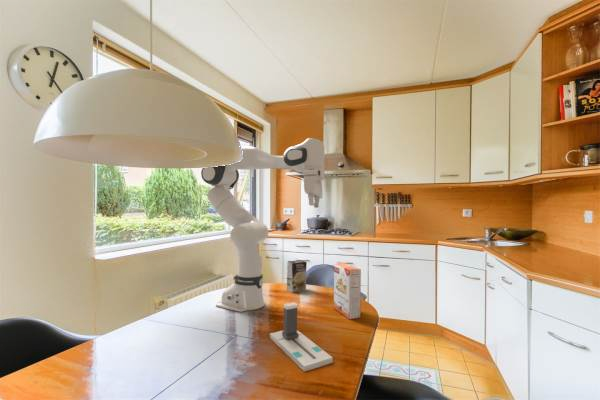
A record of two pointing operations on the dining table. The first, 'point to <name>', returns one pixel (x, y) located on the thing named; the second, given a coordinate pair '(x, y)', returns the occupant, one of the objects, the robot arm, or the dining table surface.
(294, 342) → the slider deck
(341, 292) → the cracker box
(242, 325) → the dining table surface
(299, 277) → the coffee box
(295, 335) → the fader tab
